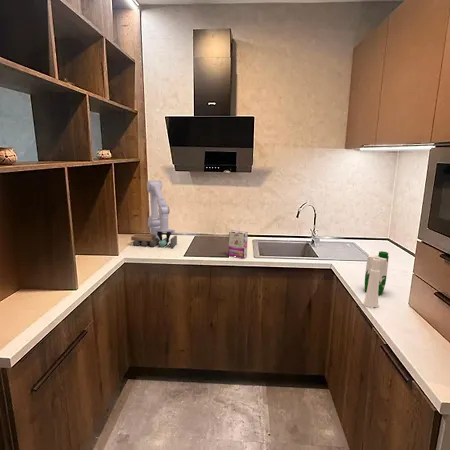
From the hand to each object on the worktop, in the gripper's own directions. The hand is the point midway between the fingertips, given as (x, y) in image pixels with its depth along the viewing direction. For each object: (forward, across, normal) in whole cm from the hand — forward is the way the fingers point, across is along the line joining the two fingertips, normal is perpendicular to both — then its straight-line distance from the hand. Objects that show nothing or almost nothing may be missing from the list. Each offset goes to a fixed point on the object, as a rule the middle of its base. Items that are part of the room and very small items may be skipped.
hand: (164, 242), depth 231 cm
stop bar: (+2, +7, 0) cm, 7 cm away
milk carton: (+3, +123, -59) cm, 136 cm away
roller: (+2, +1, 0) cm, 2 cm away
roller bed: (+2, -9, 0) cm, 9 cm away
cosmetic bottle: (+3, +117, -75) cm, 139 cm away
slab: (-2, -15, 0) cm, 15 cm away
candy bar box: (+3, +53, -15) cm, 55 cm away
